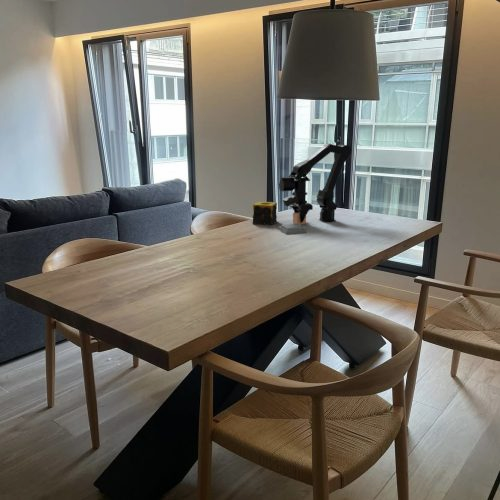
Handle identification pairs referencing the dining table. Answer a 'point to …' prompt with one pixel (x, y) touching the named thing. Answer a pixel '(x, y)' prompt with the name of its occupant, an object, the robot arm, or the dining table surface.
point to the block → (298, 219)
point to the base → (291, 228)
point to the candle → (264, 213)
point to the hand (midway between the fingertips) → (299, 221)
